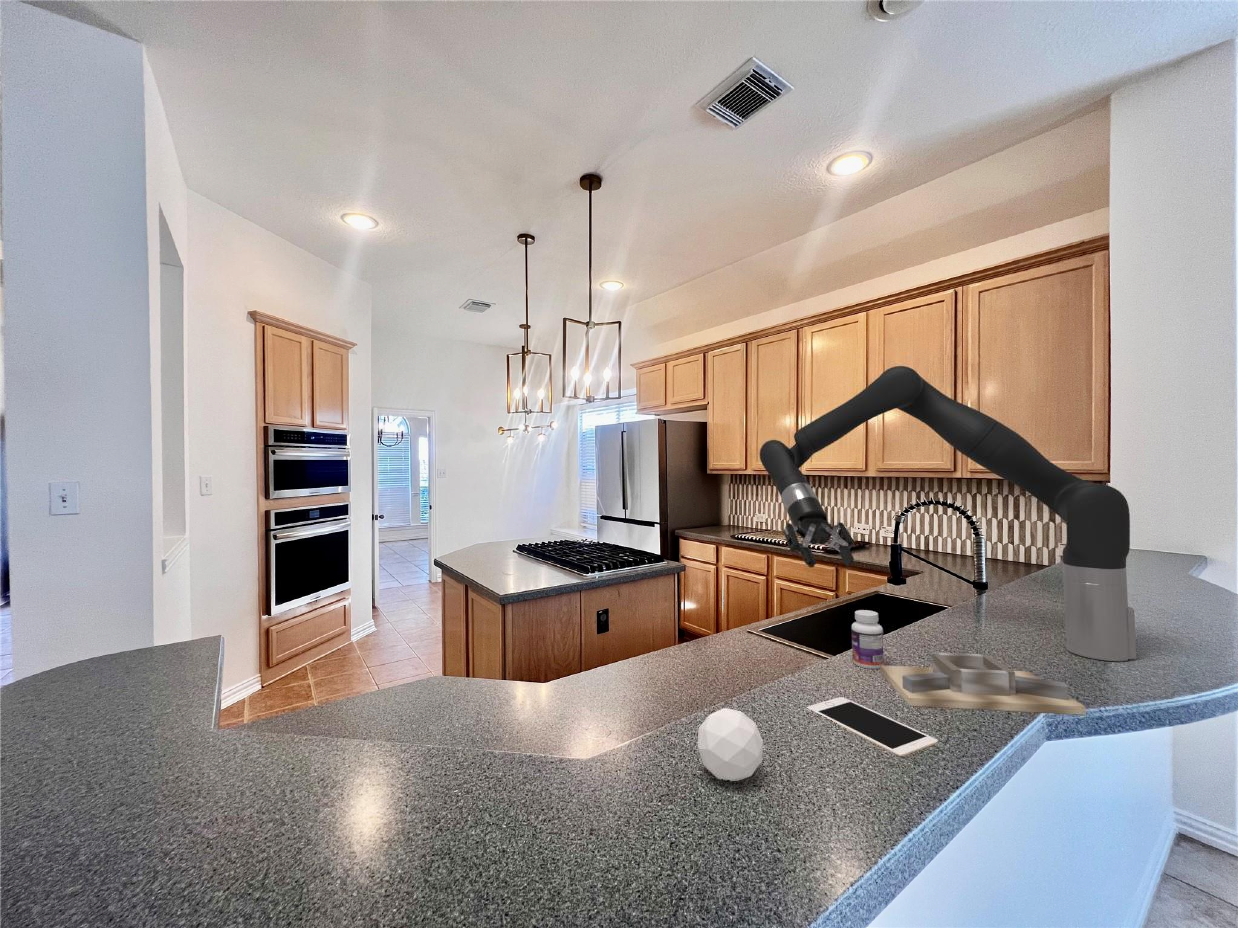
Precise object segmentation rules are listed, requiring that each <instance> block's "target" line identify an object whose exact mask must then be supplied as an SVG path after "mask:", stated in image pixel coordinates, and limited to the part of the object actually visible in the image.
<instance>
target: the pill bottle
mask: <svg viewBox="0 0 1238 928" xmlns="http://www.w3.org/2000/svg"><path fill="white" fill-rule="evenodd" d="M854 619H855V620H856V621H854V622H853V623H852V624H851V650H852V651H851V653H852V654H851V655H852V656H851V657H852V662H853V664H854V665H855V666H857V667H860V668H864V669H869V670H870V669H871V670H873V669H874V670H876V669H880V666H885V660H884V659H885V657H884V655H885V654H884V652H885V651H884V629H883V627H882V625H880V623H878V622H879V613H878V612H876V611H873V610H867V609H865V610H864V609H859V610H858V609H857V610H856V611H854Z"/></svg>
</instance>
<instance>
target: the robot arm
mask: <svg viewBox="0 0 1238 928" xmlns="http://www.w3.org/2000/svg"><path fill="white" fill-rule="evenodd" d="M895 409H897V410H899V411H902V412H904V413H905V414H908V415H909V416H911V417H913V418H915V419H917V420H919V421H920V422H922V423H923V424H924V425H927V426H928V427H929V428H930V429H931V430H932V431H934V432H935V433H936V434H937V435H938V436H939V437H940V438H942V439H943V440H944V442H945V441H946V442H947V444H949V445H950V446H951V447H953V448H954V449H955V450H957V451H958V452H960V454H962V455H964V456H965V457H967V458H968V459H969V460H971V461H973V462H974V463H976V464H977V465H979V466H981V467H983V468H984V469H986V470H988V471H989V472H991V473H993V474H994V475H996V476H998V477H1000V478H1002V479H1004V480H1005V481H1007V482H1009V483H1011V484H1014V485H1015V486H1017V487H1018V488H1021V489H1022V490H1025V492H1027V493H1029V494H1030V495H1031V496H1032V497H1034V498H1035V499H1037V500H1038V501H1039V502H1041V503H1042V504H1043V505H1044V506H1046V507H1047V508H1048V509H1050V511H1052V512H1053V513H1054V514H1056V515H1057V516H1058V517H1059V518H1060V519H1062V520H1063V521H1064V522H1065V523H1066V543H1065V546H1064V548H1063V550H1062V577H1063V579H1062V580H1063V598H1064V600H1063V601H1064V620H1065V621H1064V622H1065V623H1064V624H1065V626H1064V627H1065V647H1066V650H1067V651H1068V652H1070V653H1072V654H1075V655H1077V656H1081V657H1084V658H1085V657H1086V658H1089V659H1094V660H1098V661H1099V660H1101V661H1108V662H1109V661H1110V662H1126V661H1129V660H1137V643H1136V641H1137V640H1136V624H1135V623H1136V620H1135V609H1134V608H1133V607H1131V606H1129V601H1128V597H1129V596H1128V581H1127V578H1128V577H1127V557H1128V556H1129V553H1130V550H1131V549H1130V548H1131V546H1130V545H1131V513H1130V508H1129V503H1128V500H1127V498H1126V497H1125V495H1124V494H1123V493H1122V492H1121V491H1120V490H1118V489H1116V488H1115V487H1114V486H1110V485H1107V484H1102V483H1096V482H1094V483H1092V482H1090V481H1086V480H1084V479H1083V478H1080V477H1077V476H1076V475H1074V474H1072V473H1070V472H1068V471H1067V470H1064V469H1063V468H1061V467H1060V466H1057V465H1056V464H1054V463H1053V462H1051V461H1050V460H1049V459H1048V458H1046V457H1045V456H1044V455H1043V454H1042V453H1041V452H1040V451H1039V450H1038V449H1037V448H1036V447H1035V446H1033V445H1032V444H1031V443H1030V442H1029V441H1028V440H1027V439H1026V438H1024V437H1023V436H1021V435H1020V434H1019V433H1018V432H1017V431H1015V430H1013V429H1012V428H1010V427H1008V426H1006V425H1005V424H1004V423H1001V422H1000V421H998V420H996V419H995V418H993V417H991V416H989V415H987V414H985V413H983V412H981V411H980V410H978V409H975V408H973V407H971V406H968V405H965V404H964V403H961V402H959V401H957V400H954V399H953V398H951V397H949V396H947V395H946V394H944V393H943V392H941V391H940V390H939V389H937V388H936V387H935V386H933V385H932V384H930V382H928V381H926V380H925V379H924V378H923V377H921V375H920V374H919V373H918V372H917V371H916V370H915V369H913V368H911V367H910V366H905V365H896V366H891V367H890V368H887V369H886V370H884V371H883V372H882V373H881V374H880V375H879V376H878V377H877V378H876V379H875V380H874V381H872V382H871V383H870V384H868V386H867V387H865V388H863V390H861V391H860V392H859V393H857V394H856V395H855V396H853V397H852V398H851V399H849V400H846V402H844V403H842V404H840V405H839V406H836V407H835V408H834V409H832V410H830V411H827V413H824V414H823V415H821V416H819V417H818V418H816V419H814V420H812V421H811V422H809V423H807V424H806V425H804V426H802V427H801V428H799V429H798V430H797V431H795V433H794V434H793V438H794V441H795V442H794V443H795V444H794V445H792V446H791V447H790V448H789V446H787V445H786V444H785V443H783V442H782V441H781V440H777V439H770V440H767V441H765V442H764V443H763V444H762V445H761V447H760V450H759V460H760V463H761V464H762V466H763V468H764V469H765V471H766V473H767V474H768V475H769V477H770V478H771V479H772V481H773V483H774V484H775V486H776V489H777V491H778V494H779V495H780V498H781V500H782V503H783V506H784V508H785V510H786V511H785V512H786V513H787V515H788V517H789V519H790V521H791V523H789V522H788V523H787V524H786V526H785V528H783V535H784V537H785V540H786V543H787V546H788V548H789V550H790V552H798V553H799V554H800V555H801V556H802V558H803V559H802V560H803V561H804V563H805V565H807V567H808V568H814V567H815V565H816V563H817V560H816V558H815V555H814V554H813V552H812V549H811V547H809V546H810V545H809V544H811V545H818V544H819V545H826V546H828V547H829V548H833V549H835V550H836V551H838V554H839V556H840V558H841V559H842V562H843V564H844V566H845V567H851V566H852V564H853V563H854V560H855V558H854V556H853V554H852V552H851V551H850V550H851V548H852V546H853V545H854V544H855V541H854V539H853V537H852V535H851V534H850V532H849V530H848V529H847V528H846V526H845V525H844V523H843V522H838V524H833V525H832V524H831V523H830V522H829V521H828V517H827V514H826V512H825V509H824V508H823V506H822V504H821V502H820V501H819V499H818V496H817V494H816V493H815V491H814V490H813V489H812V487H811V486H810V483H809V482H808V480H807V478H806V476H805V474H804V473H803V472H802V471H801V470H800V468H801V467H802V466H803V465H804V464H805V463H806V462H808V460H810V458H811V457H813V455H815V454H816V453H818V452H819V451H822V450H823V449H826V448H827V447H828V446H830V445H832V444H833V443H834V444H835V442H837V441H839V440H840V439H842V438H844V436H846V435H848V434H849V433H850V432H852V431H853V430H855V429H856V428H858V427H859V426H861V425H862V424H865V423H866V422H868V421H870V420H872V419H874V418H876V417H877V416H880V415H882V414H884V413H888V412H890V411H893V410H895ZM797 535H799V536H800V537H801V538H802V540H801V542H799V539H798V536H797ZM831 537H832V538H833V539H832V540H830V539H831ZM1128 659H1129V660H1128Z"/></svg>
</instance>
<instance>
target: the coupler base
mask: <svg viewBox="0 0 1238 928" xmlns="http://www.w3.org/2000/svg"><path fill="white" fill-rule="evenodd" d="M931 655H932V656H931V658H932V662H931V663H932V667H928V666H927V667H923V666H921V667H920V666H902V665H901V666H900V665H899V666H898V665H897V666H895V665H884V666H880V668H879V669H880V671H879V672H880V674H882V676H883V678H885V680H887V681H888V683H889V684H890V685H891V686H892V687H893V688H894V689H895V691H896V692H897V693H898V694H899V695H900V697H901V698H902V699H903V700H904V701H905V702H906V703H907V705H908V706H910V707H925V708H926V707H929V708H947V709H948V708H949V709H965V710H966V709H969V710H970V709H971V710H986V711H988V710H989V711H1003V712H1004V711H1005V712H1024V713H1025V712H1026V713H1027V712H1028V713H1043V714H1060V715H1061V714H1063V715H1082V716H1084V715H1087V714H1086V711H1087V710H1086V706H1085V705H1083V704H1082V703H1080V702H1078V701H1077V700H1076V699H1074V698H1072V697H1071V696H1069V689H1068V688H1069V687H1068V686H1067V684H1066V682H1064V681H1057V680H1050V679H1043V678H1042V679H1041V678H1040V677H1038V676H1037V675H1035V674H1033V673H1032V672H1031V671H1028V670H1027V671H1023V670H1012V669H1011V668H1009V667H1008V666H1006V665H1004V664H1003V663H1002V662H1000V661H999V660H996V659H995V658H994V657H992V656H990V655H988V654H987V655H985V654H984V655H982V654H979V653H960V652H959V653H958V652H957V653H955V652H938V653H931Z"/></svg>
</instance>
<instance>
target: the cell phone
mask: <svg viewBox="0 0 1238 928" xmlns="http://www.w3.org/2000/svg"><path fill="white" fill-rule="evenodd" d="M807 708H808V709H807ZM806 709H807V710H809V711H811V710H812V711H814V712H815V713H814V712H813V713H814V714H816V713H818V714H820V715H822V716H824V717H827V719H826V720H828V719H830V720H832V721H833V723H834V722H835V723H834V724H836V723H837V724H836V725H838V726H840V727H842V726H843V727H842V728H844V729H845V728H846V731H847V730H848V731H850V732H851V733H854V735H855V734H856V735H857V736H859V737H861V738H863V739H865V740H867V741H868V742H871V743H873V744H875V745H877V746H878V747H880V748H883V749H885V750H886V751H888V752H890V753H892V754H894V755H896V756H899V757H904V756H907V755H910V754H913V753H915V752H918V751H921V750H923V749H925V748H929V747H932V746H934V745H937V744H938V743H939V740H938V739H937V738H935V737H933V736H931V735H928V734H926V733H923V732H922V731H919V730H917V729H915V728H913V727H910V726H908V725H906V724H904V723H902V722H899V721H897V720H895V719H893V718H891V717H888V716H886V715H883V714H882V713H880V712H877V711H875V710H872V709H870V708H868V707H866V706H864V705H861V704H859V703H858V702H855V701H852V700H851V699H848V698H846V697H843V696H839V697H836V698H832V699H829V700H825V701H821V702H818V703H814V704H812V705H808V706H807V707H806ZM812 711H811V712H812ZM818 714H817V715H818ZM820 715H819V716H820ZM822 716H821V717H822ZM824 717H823V718H824ZM830 720H829V721H830ZM832 721H831V722H832Z"/></svg>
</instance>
